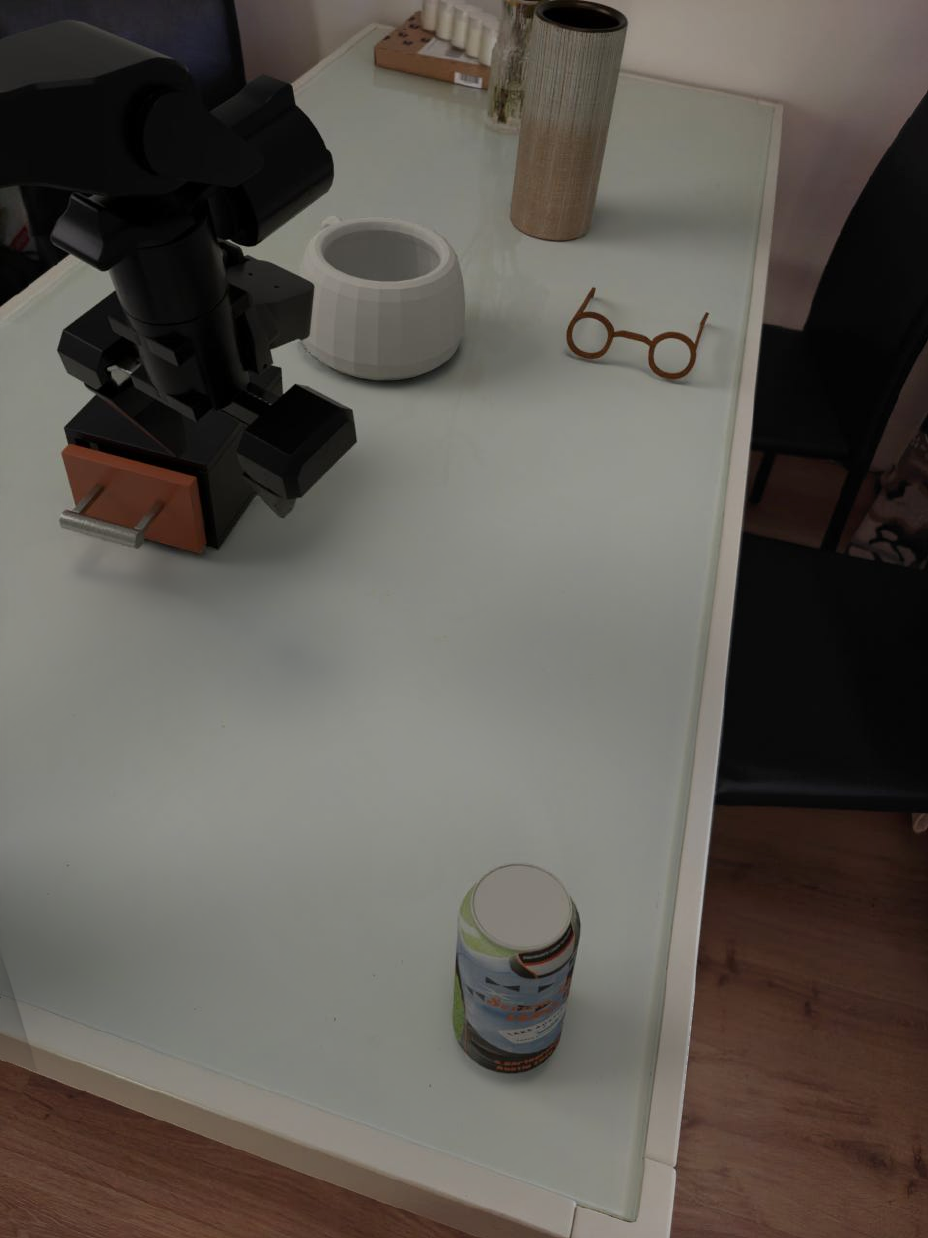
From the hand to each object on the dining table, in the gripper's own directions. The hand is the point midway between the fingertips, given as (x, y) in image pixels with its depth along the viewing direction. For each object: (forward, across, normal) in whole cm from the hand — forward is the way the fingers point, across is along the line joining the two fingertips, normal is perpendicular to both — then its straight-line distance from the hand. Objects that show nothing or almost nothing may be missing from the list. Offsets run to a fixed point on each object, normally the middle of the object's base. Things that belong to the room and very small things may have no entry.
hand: (232, 482), depth 65 cm
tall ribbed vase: (+26, +15, -67) cm, 73 cm away
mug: (+20, +16, -33) cm, 42 cm away
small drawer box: (+14, +13, -6) cm, 20 cm away
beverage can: (+9, -32, +16) cm, 37 cm away
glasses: (+22, -6, -51) cm, 56 cm away
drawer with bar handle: (+12, +12, -1) cm, 17 cm away
